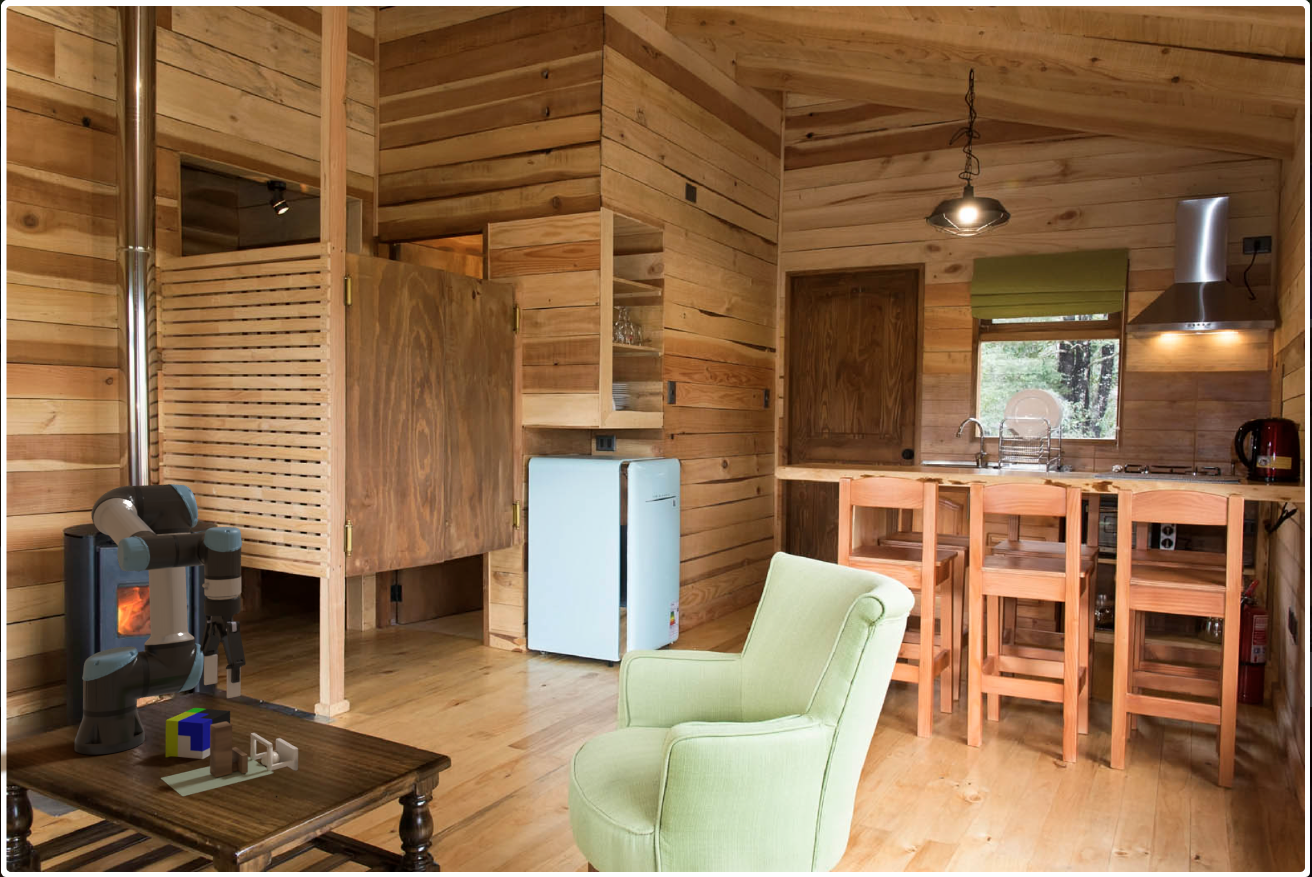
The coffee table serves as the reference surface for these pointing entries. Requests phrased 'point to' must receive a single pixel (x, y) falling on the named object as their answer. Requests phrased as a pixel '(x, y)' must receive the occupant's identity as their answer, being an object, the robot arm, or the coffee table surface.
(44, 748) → the coffee table surface
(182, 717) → the puzzle toy
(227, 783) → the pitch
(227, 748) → the kicker
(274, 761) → the ball
